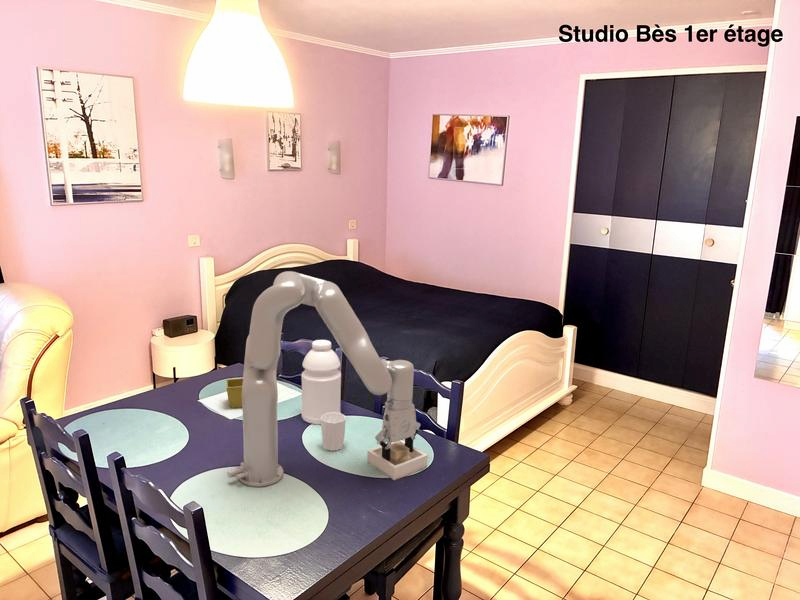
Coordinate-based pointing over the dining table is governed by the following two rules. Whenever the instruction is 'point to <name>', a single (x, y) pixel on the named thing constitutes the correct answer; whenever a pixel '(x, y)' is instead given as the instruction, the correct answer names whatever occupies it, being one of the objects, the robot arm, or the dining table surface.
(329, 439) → the white cup
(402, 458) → the beech cube
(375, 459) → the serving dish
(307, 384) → the white bottle
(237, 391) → the flower pot
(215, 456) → the dining table surface
